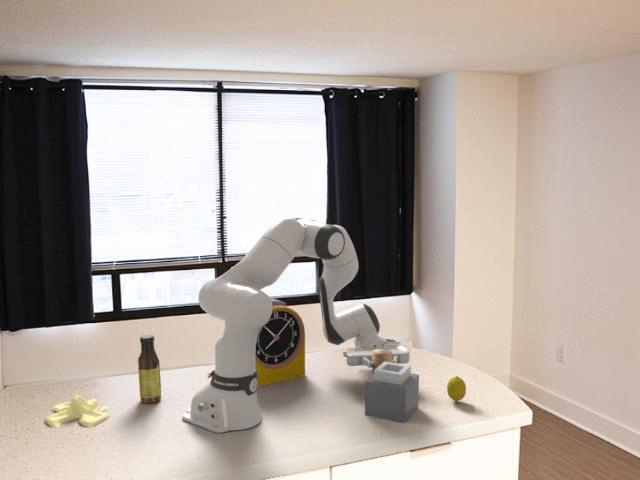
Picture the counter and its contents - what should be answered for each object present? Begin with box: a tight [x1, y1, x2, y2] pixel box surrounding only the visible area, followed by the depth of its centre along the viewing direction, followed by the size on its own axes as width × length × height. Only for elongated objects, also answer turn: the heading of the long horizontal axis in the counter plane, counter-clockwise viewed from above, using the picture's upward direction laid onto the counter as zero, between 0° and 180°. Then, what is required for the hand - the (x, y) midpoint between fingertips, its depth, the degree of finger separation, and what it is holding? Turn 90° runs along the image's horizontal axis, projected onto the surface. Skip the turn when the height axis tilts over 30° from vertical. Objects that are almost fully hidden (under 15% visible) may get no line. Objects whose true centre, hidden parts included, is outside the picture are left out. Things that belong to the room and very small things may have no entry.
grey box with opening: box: [364, 362, 420, 424], centre depth 177 cm, size 12×12×13 cm
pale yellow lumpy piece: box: [44, 394, 112, 429], centre depth 177 cm, size 22×19×6 cm
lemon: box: [446, 375, 467, 403], centre depth 185 cm, size 6×6×8 cm
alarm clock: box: [256, 298, 306, 387], centre depth 203 cm, size 21×9×26 cm, turn 123°
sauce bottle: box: [137, 334, 162, 404], centre depth 184 cm, size 6×6×20 cm
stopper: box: [371, 349, 392, 376], centre depth 190 cm, size 6×6×11 cm
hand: (382, 364), depth 189 cm, fingers closed on stopper, 6 cm apart
